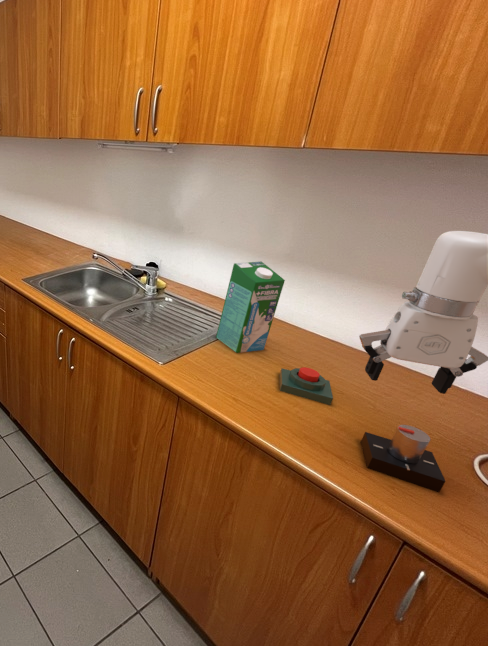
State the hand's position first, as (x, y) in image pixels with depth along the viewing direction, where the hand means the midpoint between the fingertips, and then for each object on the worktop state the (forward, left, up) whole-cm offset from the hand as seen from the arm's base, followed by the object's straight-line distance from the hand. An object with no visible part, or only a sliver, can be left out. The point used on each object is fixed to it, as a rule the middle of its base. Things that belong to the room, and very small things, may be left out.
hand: (403, 382), depth 75 cm
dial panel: (-3, +3, -17) cm, 18 cm away
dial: (-3, +2, -14) cm, 15 cm away
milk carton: (+26, -32, -17) cm, 45 cm away
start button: (+11, -17, -14) cm, 24 cm away
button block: (+11, -16, -17) cm, 26 cm away
